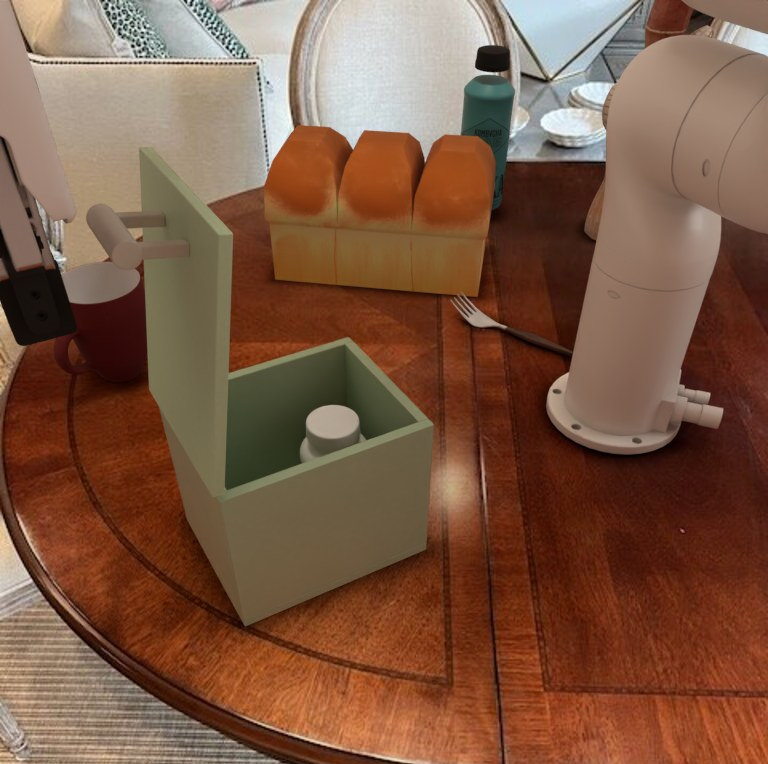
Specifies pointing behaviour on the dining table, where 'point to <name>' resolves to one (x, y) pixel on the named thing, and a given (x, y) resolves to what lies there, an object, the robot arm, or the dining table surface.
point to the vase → (662, 23)
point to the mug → (105, 321)
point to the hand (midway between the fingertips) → (45, 332)
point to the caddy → (309, 481)
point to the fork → (505, 327)
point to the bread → (380, 210)
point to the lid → (180, 306)
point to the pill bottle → (330, 431)
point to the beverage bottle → (490, 109)
